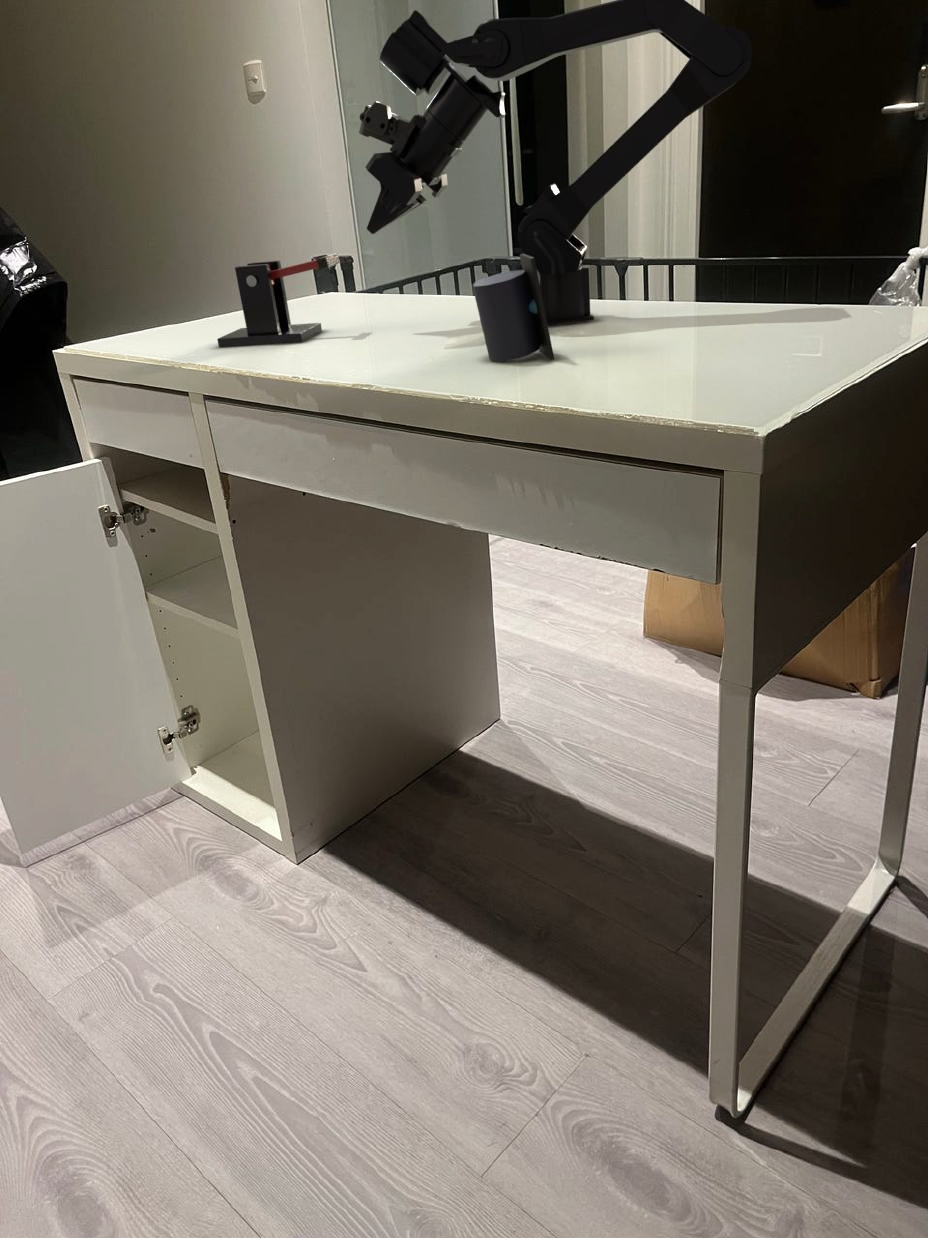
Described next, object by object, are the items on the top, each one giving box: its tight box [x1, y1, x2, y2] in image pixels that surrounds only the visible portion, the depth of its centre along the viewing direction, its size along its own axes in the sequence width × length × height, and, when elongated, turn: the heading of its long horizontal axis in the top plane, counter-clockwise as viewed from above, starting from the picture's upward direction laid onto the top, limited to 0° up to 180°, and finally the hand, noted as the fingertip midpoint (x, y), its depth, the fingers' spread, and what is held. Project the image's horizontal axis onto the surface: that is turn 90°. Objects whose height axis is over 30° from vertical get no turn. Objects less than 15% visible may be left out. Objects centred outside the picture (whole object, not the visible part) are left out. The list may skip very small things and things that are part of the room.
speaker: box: [472, 253, 555, 363], centre depth 98 cm, size 8×6×10 cm
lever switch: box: [216, 260, 323, 349], centre depth 124 cm, size 12×8×10 cm, turn 79°
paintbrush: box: [269, 252, 341, 285], centre depth 122 cm, size 12×5×2 cm, turn 79°
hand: (370, 231), depth 118 cm, fingers closed
